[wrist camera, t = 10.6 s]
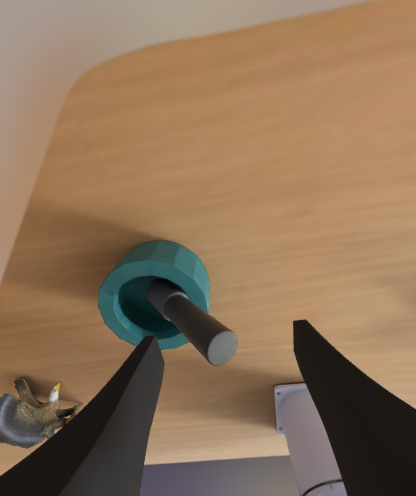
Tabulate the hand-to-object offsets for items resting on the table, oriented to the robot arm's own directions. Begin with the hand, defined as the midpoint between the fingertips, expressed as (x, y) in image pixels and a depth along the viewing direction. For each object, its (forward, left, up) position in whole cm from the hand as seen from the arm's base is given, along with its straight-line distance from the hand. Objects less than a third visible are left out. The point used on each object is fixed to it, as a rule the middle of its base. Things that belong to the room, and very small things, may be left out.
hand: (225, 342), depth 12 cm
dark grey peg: (-2, +6, -9) cm, 11 cm away
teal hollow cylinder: (-2, +6, -10) cm, 12 cm away
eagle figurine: (-16, +24, -11) cm, 31 cm away
